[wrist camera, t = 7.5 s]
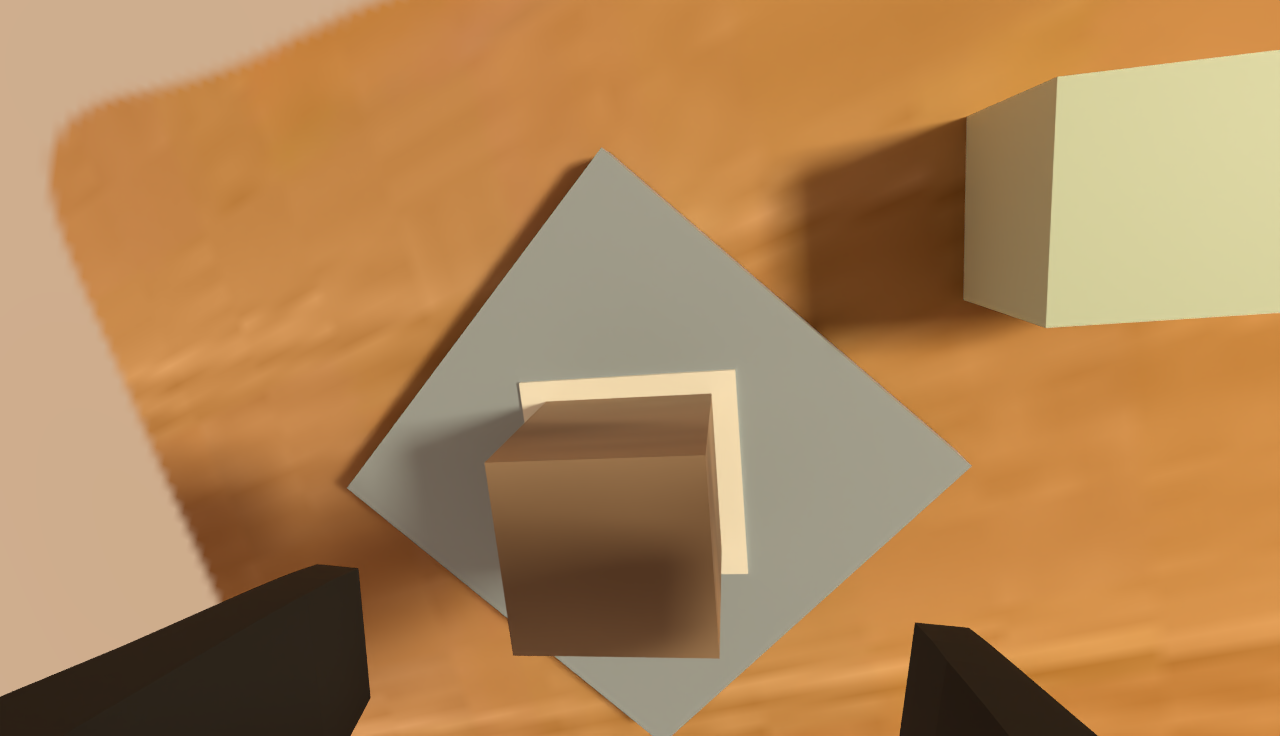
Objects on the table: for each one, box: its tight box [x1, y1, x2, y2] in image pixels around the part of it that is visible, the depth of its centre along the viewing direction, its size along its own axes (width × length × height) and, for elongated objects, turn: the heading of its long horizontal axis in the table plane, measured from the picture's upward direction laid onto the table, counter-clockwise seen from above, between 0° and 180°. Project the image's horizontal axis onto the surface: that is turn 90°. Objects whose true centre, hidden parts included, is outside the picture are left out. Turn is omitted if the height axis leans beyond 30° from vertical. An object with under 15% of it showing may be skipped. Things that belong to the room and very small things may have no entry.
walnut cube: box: [484, 393, 722, 659], centre depth 13 cm, size 4×4×4 cm
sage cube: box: [963, 50, 1280, 328], centre depth 12 cm, size 4×4×4 cm
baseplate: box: [347, 148, 971, 736], centre depth 16 cm, size 11×11×1 cm
